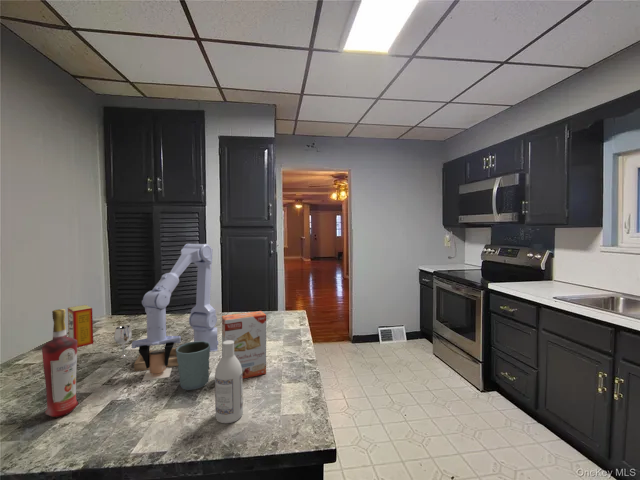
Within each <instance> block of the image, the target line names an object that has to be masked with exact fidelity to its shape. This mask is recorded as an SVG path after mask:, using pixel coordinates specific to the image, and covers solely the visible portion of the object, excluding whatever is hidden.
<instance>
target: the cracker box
mask: <svg viewBox="0 0 640 480" xmlns="http://www.w3.org/2000/svg"><path fill="white" fill-rule="evenodd" d="M227 340H232V341H234V355H235V356H236V358H237V359H238V360H239V362H240V364H241V367H242V380H244V379H248V378H252V377H257V376H261V375H262V376H263V375H266V374H267V314H265V313H264V312H263V311H262V310H259V311H251V312H250V311H249V312H242V313H241V312H240V313H235V314H234V313H233V314H226V315H222V316H221V357H222V356H223V342H224V341H227Z"/></svg>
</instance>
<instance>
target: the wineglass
mask: <svg viewBox="0 0 640 480" xmlns="http://www.w3.org/2000/svg"><path fill="white" fill-rule="evenodd" d="M132 336H133V333H132V329H131V326H130V325H121V326H120V325H119V326H117V327H115V328H114V334H113V339H114V342H115V343H116V344H118V345H121V348H122V355H121V356H120V357H119V358H120V359H125V358H128V355H126V354H125V347H126V345H125V344H127V343H129V342H130V341H131V340H132V338H133V337H132Z"/></svg>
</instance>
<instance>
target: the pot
mask: <svg viewBox="0 0 640 480" xmlns="http://www.w3.org/2000/svg"><path fill="white" fill-rule="evenodd" d="M151 351H152V350H151ZM166 369H167V367H166V366H165V350H161V349H155V351H152V352H151V353H149V370H148V371H149V372H150V373H160V372H163V371H165V370H166Z"/></svg>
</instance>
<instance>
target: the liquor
mask: <svg viewBox="0 0 640 480" xmlns="http://www.w3.org/2000/svg"><path fill="white" fill-rule="evenodd" d="M65 319H66V309H65V308H60V309H55V310H52V321H53V327H52V329H53V330H52V339H51V340H48V341H47V342H46V343H45V344H43V345H42V346H41V352H42V353H41V355H42V365H43V373H44V374H43V376H44V381H45V382H44V383H45V391H46V410H45V411H44V413H45V415H47V416H49V417H52V418H60V417H64V416H66V415H68V414H70V413H71V412H72V411H73V410H74V409H75V408H76V407H78V405H79V402H78V400H77V365H78V347H77V340H76V339H74V338H71V337H69V336H68V334H67V328H66V322H65Z"/></svg>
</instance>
